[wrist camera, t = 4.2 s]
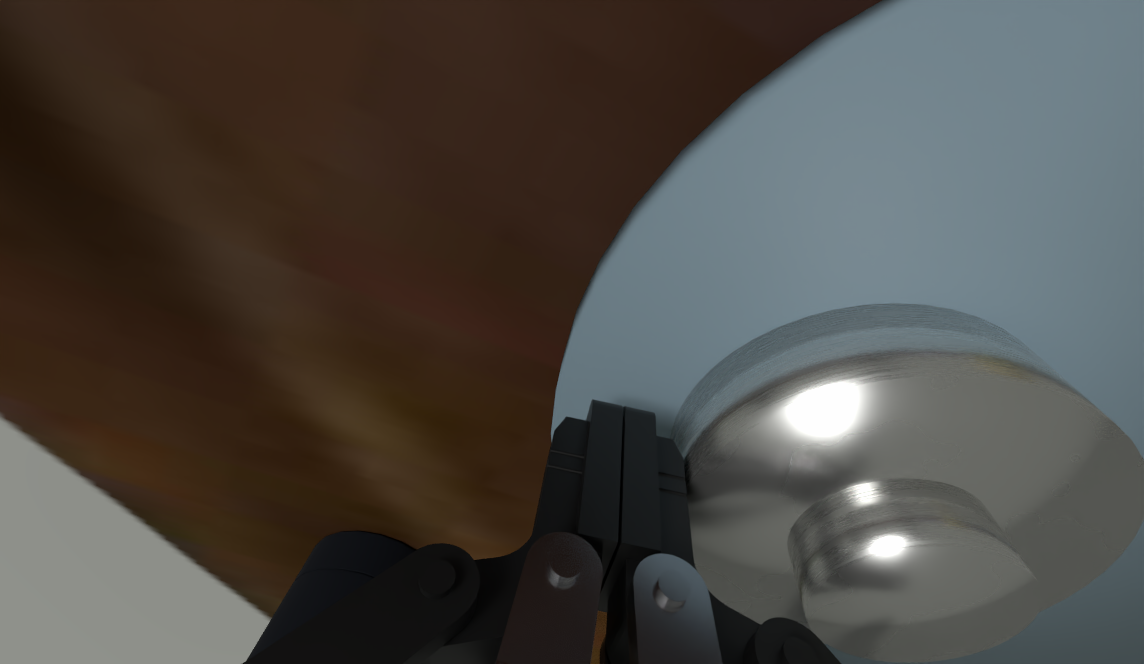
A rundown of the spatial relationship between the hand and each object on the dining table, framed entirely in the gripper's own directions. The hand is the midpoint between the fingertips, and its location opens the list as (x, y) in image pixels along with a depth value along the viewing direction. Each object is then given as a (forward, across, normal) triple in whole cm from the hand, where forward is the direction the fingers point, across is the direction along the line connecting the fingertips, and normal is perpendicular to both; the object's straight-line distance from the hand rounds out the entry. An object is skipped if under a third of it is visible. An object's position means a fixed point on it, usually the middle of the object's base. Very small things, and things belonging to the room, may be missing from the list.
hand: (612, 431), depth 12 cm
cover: (+1, -6, 0) cm, 6 cm away
